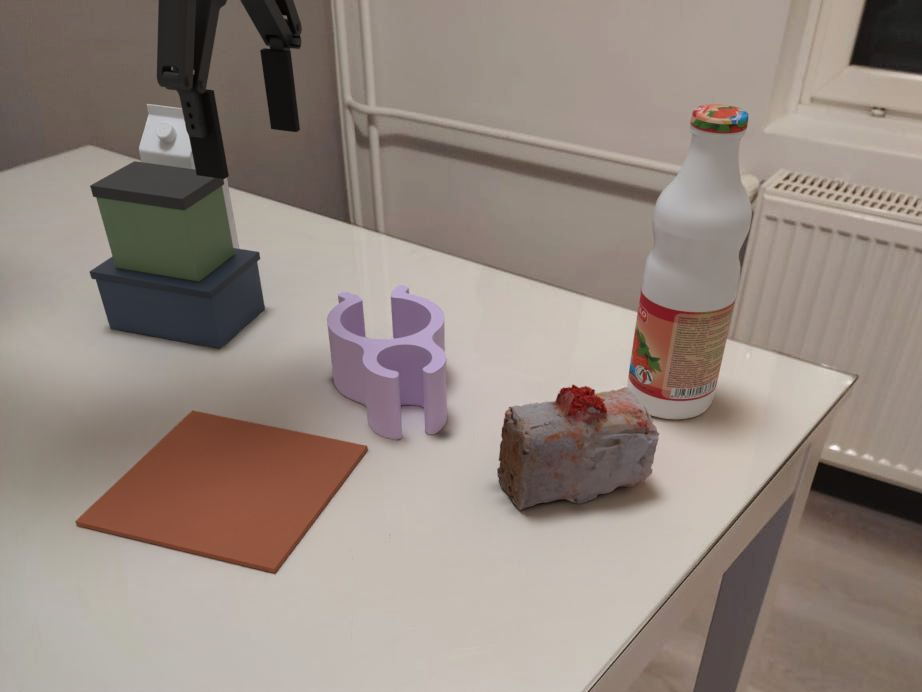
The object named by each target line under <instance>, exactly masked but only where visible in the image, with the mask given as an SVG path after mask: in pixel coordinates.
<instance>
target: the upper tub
mask: <svg viewBox="0 0 922 692" xmlns="http://www.w3.org/2000/svg"><path fill="white" fill-rule="evenodd" d="M223 185H224V179H220V178H213V177H205V176H198V175H196V170H195V169H188V168H180V167H173V166H166V165H159V164H151V163H144V162H142V161H136V160H133V161H131V162H130V163H128V164H126V165H124V166H122V167H121V168H119V169H117V170H115V171H114V172H112V173H110V174H108V175H107V176H105V177H103V178H101V179H98V180H97V181H96V182H94V183H92V184H91V185H89V187H90V191H91V194H92V197H93V198H95V199H96V203H97V206H98V210H99V213H100V216H101V220H102V224H103V228H104V231H105V234H106V238H107V242H108V246H109V249H110V252H111V257H112V256H113V260H114V264H115V267H116V268H120V269H126V270H132V271H138V272H144V273H150V274H156V275H162V276H168V277H174V278H180V279H186V280H192V281H198V282H200V281H201V280H202V279H204V278H205V277H206V276H208V275H209V274H210V273H211V272H213V271H214V270H215V269H217V268H218V267H219V266H220V265H222V264H223V263H224V262H226V261H227V260H228V259H229V258H231V257H232V256H233V255H234V249H233V243H232V238H231V232H230V227H229V221H228V216H227V210H226V205H225V199H224V194H223V188H222V186H223Z"/></svg>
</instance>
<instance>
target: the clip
mask: <svg viewBox="0 0 922 692" xmlns="http://www.w3.org/2000/svg"><path fill="white" fill-rule="evenodd" d="M337 299H338V301H337V302H338V304H336V305H335V306H334V307H332V308H331V310H330V311H329V312H328V314H327V317H326V325H327V334H328V343H329V350H330V351H329V352H330V359H331V368H332V376H333V377H332V378H333V383H334V386H335V388H336V390H337V391H338V392H339V393H340V394H341V395H343V396H344V397H346V398H347V399H349V400H351V401H354V402H357V403H359V404H362V405H364V406H365V407H366V412H367V413H366V414H367V415H366V416H367V423H368V425H369V428H370V429H371V430H372V431H373V432H374V433H376V434H377V435H380V436H381V437H384V438H386V439H390V440H395V441H397V440H401V439H402V438H403V424H402V407H401V406H409V405H410V406H418V407H421V408H423V415H424V416H423V417H424V432H425V433H427V434H428V435H436V434H438V433H439V432H440V431H442V429H443V428H444V427H445V426H446V424H447V422H448V402H447V401H448V398H447V393H448V392H447V389H448V387H447V354H446V340H445V339H446V338H445V336H446V335H445V334H446V333H445V329H446V328H445V314H444V311H443V309H442V308H441V307H440V306H439V305H438V304H437V303H436V302H434V301H433V300H431V299H429V298H426V297H423V296H421V295H416V294H412V293H410V286H409V285H404V284H400V285H397V286H396V287H395V288H394V289H392V290H391V292H390V309H391V324H392V338H383V339H382V338H371V337H367V336H366V325H365V324H366V323H365V314H364V312H365V311H364V303H363V298H362V297H361V296H360V295H358V294H356V293H355V294H354V293H352V292H349V291H340V292H339V293H337Z"/></svg>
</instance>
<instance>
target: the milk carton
mask: <svg viewBox="0 0 922 692" xmlns="http://www.w3.org/2000/svg"><path fill="white" fill-rule="evenodd" d="M146 108H147V113H148V115H147V118H146V122H145V125H144V130H143V132H142V136H141V139H140V143H139V146H138V152H139V158H140V162H144V163H151V164H159V165H166V166H173V167H180V168H188V169H195V165H194V159H193V154H192V149H191V144H190V139H189V135H188V133H187V131H186V126H185V121H184V116H183V111H182V107H175V106H167V105H160V104H152V103H147V104H146ZM222 188H223V194H224V199H225V205H226V210H227V216H228V221H229V227H230V232H231V238H232V243H233V248H237V249H241V248H240V244H239V243H240V242H239V237H238V232H237V227H236V221H235V215H234V210H233V204H232V199H231V192H230V187H229V181H228V177H227V178H225V179H224V185H223V186H222Z"/></svg>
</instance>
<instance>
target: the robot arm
mask: <svg viewBox="0 0 922 692" xmlns="http://www.w3.org/2000/svg"><path fill="white" fill-rule="evenodd" d="M239 1H240V3H241V5H242V6H243V8H244V9H245V11H246V13H247V15H248V17H249V18H250V20H251V22H252V24H253V25H254V27H255V29H256V30H257V33H258V34H259V36H260V37H261V39H262V41H263V43H264V44H265V46H266V48H265V47H264V48H261V49H260V50H259V52H260V59H261V67H262V73H263V74H262V75H263V80H264V81H263V82H264V89H265V95H266V102H267V110H268V117H269V125H270V129H271V130H275V131H283V132H289V133H290V132H291V133H298V132H300V131H301V126H300V118H299V111H298V110H299V109H298V102H297V93H296V85H295V84H296V83H295V75H294V67H293V59H292V51H291V50H300V49H301V47H302V37H301V35H302V33H303V32H302V31H303V28H302V26H303V25H302V23H301V19H300V16H299V13H298V9H297V7H296V4H295V1H294V0H239ZM227 2H228V0H158V9H157V10H158V13H157V49H156V81H157V84H158V85H159V86H160V87H161V88H165V89H166V90H170V91H176V92H177V94H178V96H179V101H180V106H181V108H182V111H183V116H184V121H185V126H186V131H187V133H188V135H189V139H190V144H191V149H192V154H193V159H194V165H195V170H196V175H198V176H205V177H213V178H220V179H225V178H227V179H228V177H230V175H229V169H228V163H227V158H226V151H225V146H224V140H223V134H222V130H221V129H222V128H221V123H220V117H219V112H218V105H217V100H216V96H215V95H216V94H215V90H213V89H208V88H207V85H208V80H209V74H210V68H211V62H212V56H213V51H214V46H215V39H216V34H217V27H218V20H219V16H220V10H221V8H223V7H225V6H226V4H227ZM284 16H285V17H286V18H285V17H284ZM267 47H269V48H267Z"/></svg>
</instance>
